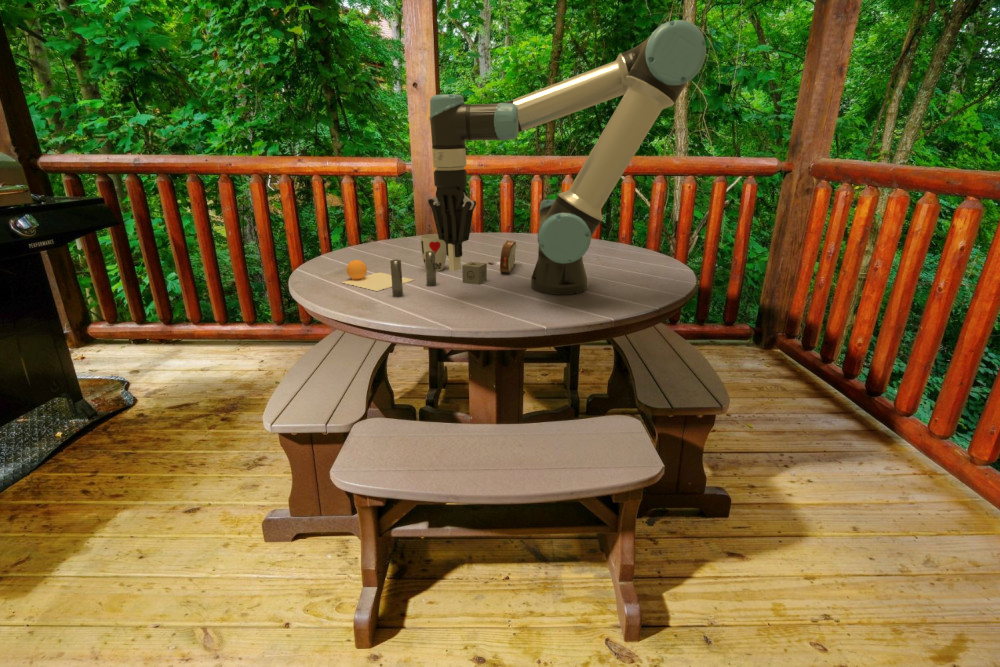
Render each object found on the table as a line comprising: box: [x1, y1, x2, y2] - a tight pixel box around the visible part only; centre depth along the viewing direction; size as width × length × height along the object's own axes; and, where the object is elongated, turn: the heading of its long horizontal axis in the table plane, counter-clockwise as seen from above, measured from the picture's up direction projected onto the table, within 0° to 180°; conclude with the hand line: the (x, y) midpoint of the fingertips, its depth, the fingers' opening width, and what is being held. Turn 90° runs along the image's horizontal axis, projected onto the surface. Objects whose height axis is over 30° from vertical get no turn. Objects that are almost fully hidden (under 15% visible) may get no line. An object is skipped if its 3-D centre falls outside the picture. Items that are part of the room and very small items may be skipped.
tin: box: [499, 240, 517, 274], centre depth 158 cm, size 15×3×8 cm, turn 170°
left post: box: [389, 259, 404, 298], centre depth 132 cm, size 3×3×9 cm
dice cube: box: [461, 261, 488, 286], centre depth 146 cm, size 5×5×5 cm
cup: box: [419, 233, 447, 272], centre depth 158 cm, size 8×8×10 cm
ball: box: [346, 259, 368, 280], centre depth 147 cm, size 6×6×6 cm
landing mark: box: [341, 271, 415, 292], centre depth 146 cm, size 14×14×1 cm
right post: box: [425, 251, 437, 287], centre depth 142 cm, size 3×3×9 cm
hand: (455, 269), depth 129 cm, fingers closed
